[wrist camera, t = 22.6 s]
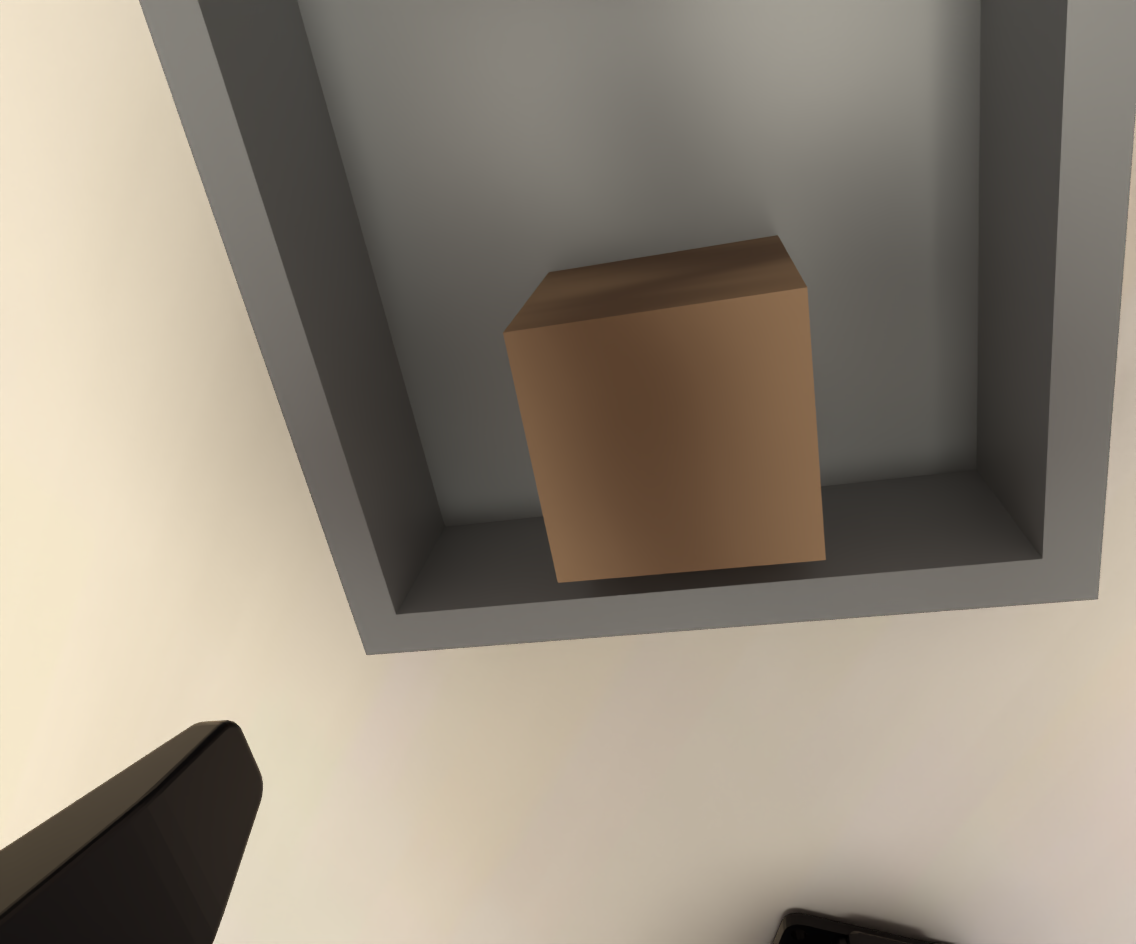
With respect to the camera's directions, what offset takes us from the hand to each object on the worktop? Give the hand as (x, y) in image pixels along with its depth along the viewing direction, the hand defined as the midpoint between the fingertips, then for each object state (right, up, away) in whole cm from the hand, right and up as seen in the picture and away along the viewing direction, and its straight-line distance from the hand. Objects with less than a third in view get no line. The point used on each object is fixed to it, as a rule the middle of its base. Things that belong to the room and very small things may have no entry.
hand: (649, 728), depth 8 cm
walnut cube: (+2, +5, +11) cm, 12 cm away
